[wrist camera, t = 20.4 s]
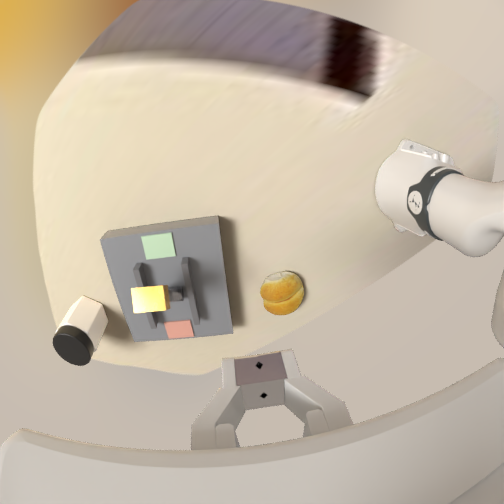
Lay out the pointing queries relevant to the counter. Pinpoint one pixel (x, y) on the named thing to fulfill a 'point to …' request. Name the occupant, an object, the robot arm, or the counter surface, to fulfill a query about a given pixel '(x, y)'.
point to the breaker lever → (155, 298)
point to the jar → (80, 331)
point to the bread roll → (282, 293)
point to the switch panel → (171, 277)
